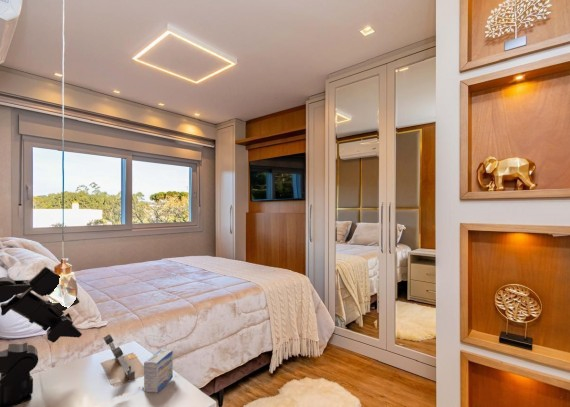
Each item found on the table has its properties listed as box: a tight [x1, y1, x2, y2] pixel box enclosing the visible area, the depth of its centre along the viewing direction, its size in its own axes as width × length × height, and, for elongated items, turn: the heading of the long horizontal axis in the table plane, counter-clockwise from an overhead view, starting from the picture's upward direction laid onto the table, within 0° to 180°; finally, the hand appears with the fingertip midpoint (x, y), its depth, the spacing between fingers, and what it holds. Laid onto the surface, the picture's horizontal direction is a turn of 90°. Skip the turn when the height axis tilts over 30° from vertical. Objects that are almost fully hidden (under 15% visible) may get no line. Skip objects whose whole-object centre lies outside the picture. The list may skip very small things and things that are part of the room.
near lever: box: [111, 346, 131, 377], centre depth 88 cm, size 2×3×9 cm, turn 44°
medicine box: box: [143, 349, 174, 394], centre depth 87 cm, size 8×4×9 cm, turn 168°
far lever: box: [102, 334, 118, 362], centre depth 97 cm, size 2×3×9 cm, turn 43°
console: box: [100, 352, 144, 388], centre depth 93 cm, size 10×18×4 cm, turn 43°
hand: (80, 335), depth 91 cm, fingers closed
